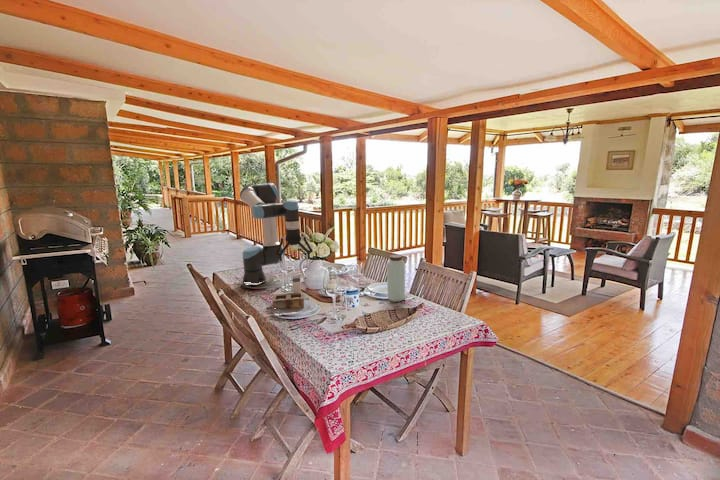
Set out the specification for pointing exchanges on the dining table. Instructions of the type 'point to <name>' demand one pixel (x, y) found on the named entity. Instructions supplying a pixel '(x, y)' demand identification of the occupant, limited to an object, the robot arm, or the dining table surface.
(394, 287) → the water bottle
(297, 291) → the plug
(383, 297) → the dining table surface
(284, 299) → the socket block
